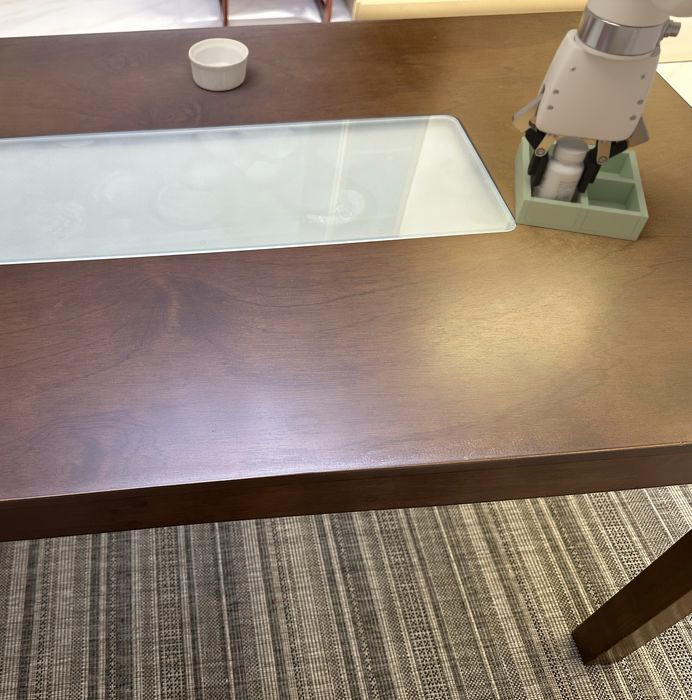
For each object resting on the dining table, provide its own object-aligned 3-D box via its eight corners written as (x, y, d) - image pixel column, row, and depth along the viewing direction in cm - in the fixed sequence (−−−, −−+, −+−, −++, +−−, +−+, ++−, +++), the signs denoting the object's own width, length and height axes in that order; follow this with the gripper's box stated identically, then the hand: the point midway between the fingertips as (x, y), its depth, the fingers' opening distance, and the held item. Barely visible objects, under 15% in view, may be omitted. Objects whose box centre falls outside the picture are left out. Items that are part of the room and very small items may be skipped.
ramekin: (182, 90, 107) (181, 62, 104) (198, 61, 113) (197, 34, 110) (240, 97, 106) (241, 69, 103) (253, 68, 111) (254, 40, 108)
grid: (623, 174, 93) (635, 150, 90) (635, 241, 84) (649, 217, 81) (514, 159, 95) (522, 136, 92) (515, 223, 86) (524, 199, 84)
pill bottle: (575, 199, 87) (599, 143, 81) (558, 216, 85) (582, 160, 79) (541, 185, 89) (563, 129, 83) (524, 201, 87) (545, 145, 81)
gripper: (704, 21, 72) (629, 174, 86) (529, 4, 75) (483, 155, 89) (719, 56, 67) (636, 213, 81) (531, 37, 70) (482, 191, 84)
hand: (557, 181), depth 85 cm, fingers closed on pill bottle, 4 cm apart
